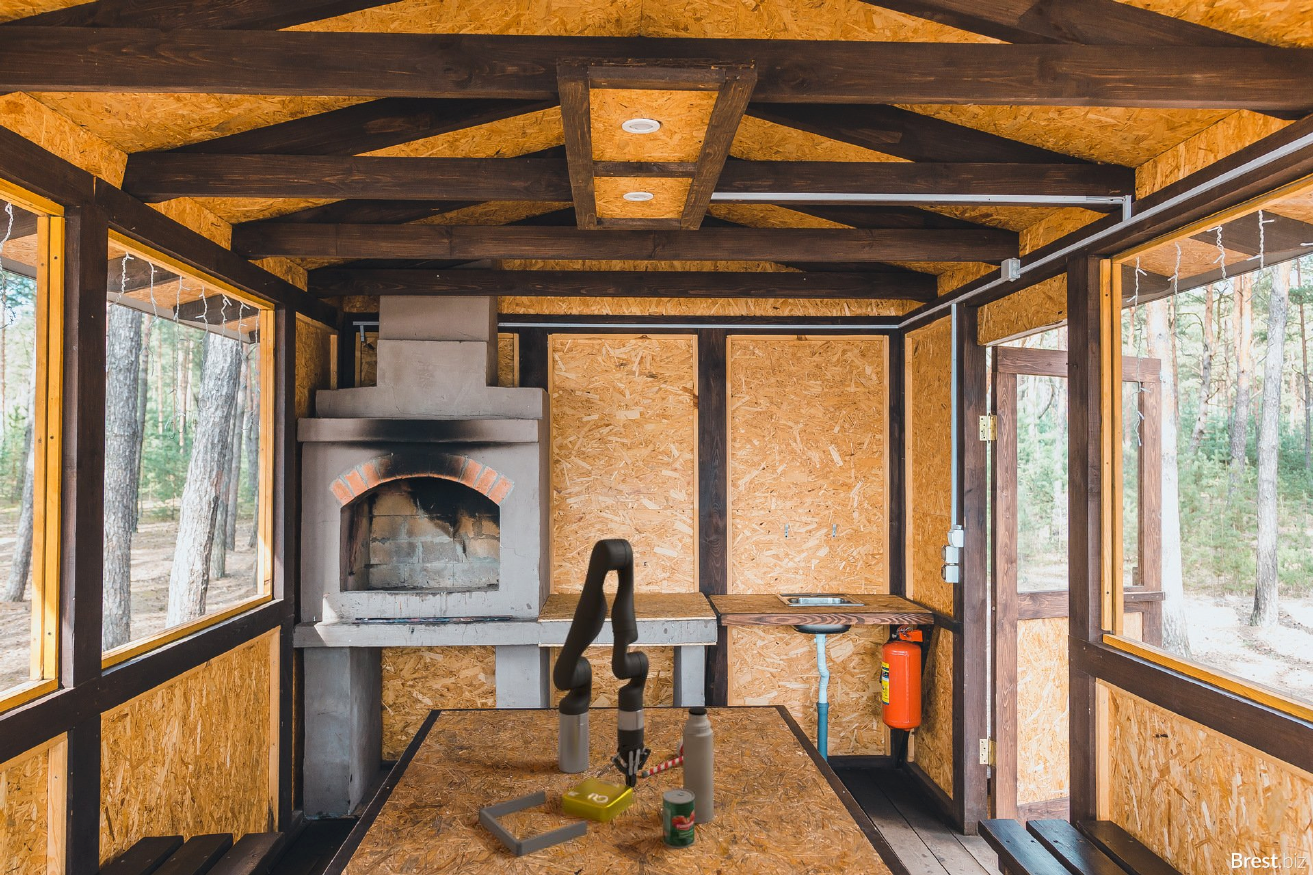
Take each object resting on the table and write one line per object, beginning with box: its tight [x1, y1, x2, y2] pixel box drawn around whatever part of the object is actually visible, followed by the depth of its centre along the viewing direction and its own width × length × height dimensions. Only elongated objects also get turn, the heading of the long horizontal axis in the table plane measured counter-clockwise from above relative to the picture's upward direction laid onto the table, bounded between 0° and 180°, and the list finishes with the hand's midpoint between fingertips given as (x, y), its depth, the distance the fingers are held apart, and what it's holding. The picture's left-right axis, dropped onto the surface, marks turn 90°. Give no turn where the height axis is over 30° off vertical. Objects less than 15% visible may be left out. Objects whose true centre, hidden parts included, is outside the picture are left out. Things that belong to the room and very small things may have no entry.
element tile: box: [561, 777, 634, 824], centre depth 208 cm, size 15×15×5 cm
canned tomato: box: [662, 788, 696, 849], centre depth 189 cm, size 8×8×11 cm
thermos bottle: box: [682, 706, 715, 824], centre depth 202 cm, size 8×8×28 cm
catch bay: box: [478, 790, 588, 858], centre depth 196 cm, size 23×19×3 cm
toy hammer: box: [641, 737, 715, 779], centre depth 233 cm, size 23×12×6 cm, turn 125°
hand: (630, 786), depth 214 cm, fingers closed
